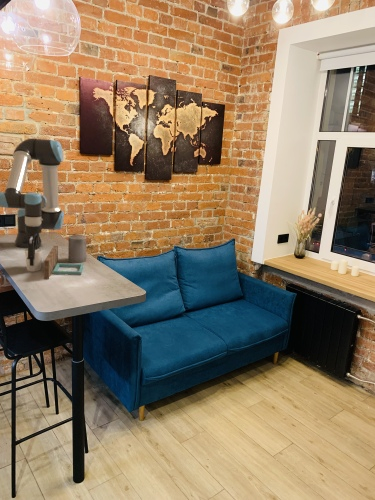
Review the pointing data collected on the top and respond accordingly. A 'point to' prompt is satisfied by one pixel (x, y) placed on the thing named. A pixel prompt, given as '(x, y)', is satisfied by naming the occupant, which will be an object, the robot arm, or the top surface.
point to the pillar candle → (77, 248)
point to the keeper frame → (68, 271)
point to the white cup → (37, 259)
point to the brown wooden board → (50, 262)
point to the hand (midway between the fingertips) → (34, 268)
